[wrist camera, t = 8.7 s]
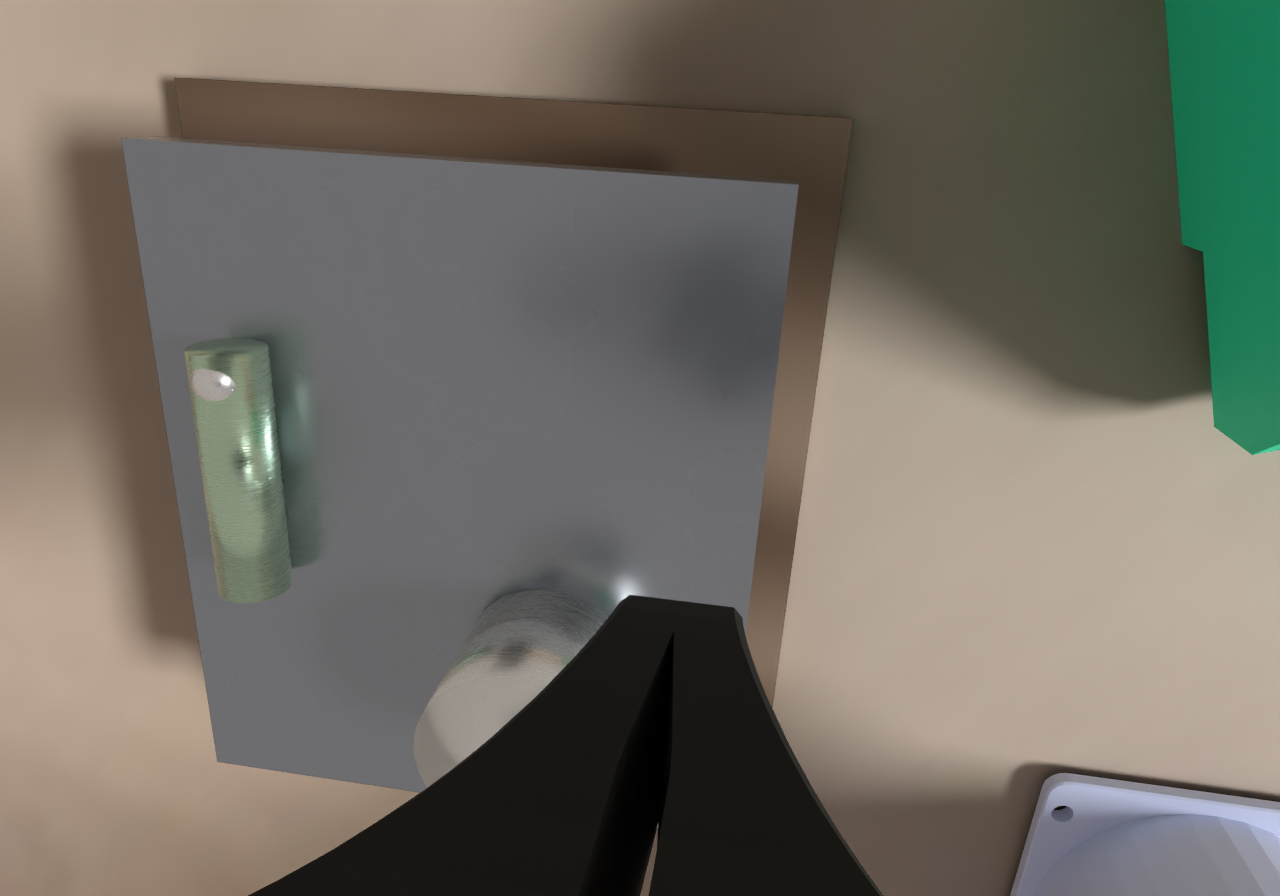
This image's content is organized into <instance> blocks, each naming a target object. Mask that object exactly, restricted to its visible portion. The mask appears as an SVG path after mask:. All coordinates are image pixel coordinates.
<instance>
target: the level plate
mask: <svg viewBox="0 0 1280 896" xmlns="http://www.w3.org/2000/svg"><path fill="white" fill-rule="evenodd" d="M121 140H122V146H123V153H124V159H125V166H126V172H127V179H128V185H129V191H130V198H131V204H132V211H133V217H134V224H135V230H136V237H137V243H138V250H139V256H140V263H141V269H142V276H143V282H144V289H145V295H146V302H147V308H148V315H149V321H150V328H151V334H152V341H153V347H154V354H155V360H156V367H157V373H158V380H159V386H160V393H161V399H162V406H163V412H164V419H165V425H166V432H167V438H168V445H169V451H170V458H171V464H172V471H173V477H174V484H175V490H176V497H177V503H178V510H179V516H180V522H181V529H182V535H183V542H184V548H185V555H186V561H187V568H188V574H189V581H190V587H191V594H192V600H193V607H194V613H195V620H196V626H197V633H198V639H199V646H200V652H201V659H202V665H203V672H204V678H205V685H206V691H207V698H208V704H209V711H210V717H211V724H212V730H213V737H214V743H215V750H216V756H217V762H222V763H229V764H235V765H242V766H248V767H255V768H262V769H268V770H275V771H281V772H288V773H295V774H301V775H308V776H315V777H321V778H328V779H334V780H341V781H348V782H354V783H361V784H367V785H374V786H381V787H387V788H394V789H401V790H407V791H414V792H420V793H421V792H422V791H423V790H425V789H426V788H428V787H429V786H430V785H432V784H433V783H434V782H436V781H437V780H438V779H440V778H441V777H442V776H444V775H445V774H446V773H448V772H449V771H450V770H452V769H453V768H454V767H455V766H457V765H458V764H459V763H461V762H462V761H463V760H464V759H466V758H467V757H468V756H469V755H471V754H472V753H473V752H474V751H475V750H477V749H478V748H479V747H480V746H481V745H483V744H484V743H485V742H486V741H487V740H489V739H490V738H491V737H492V736H493V735H494V734H495V733H497V732H498V731H499V730H500V729H501V728H502V727H503V726H504V725H505V724H506V723H508V722H509V721H510V720H511V719H512V718H513V717H514V716H515V715H516V714H517V713H519V712H520V711H521V710H522V709H523V708H524V707H525V706H526V705H527V704H528V703H530V702H531V701H532V700H533V699H534V698H535V697H536V696H537V695H538V694H539V693H540V692H541V691H542V690H543V689H544V688H545V687H546V686H547V685H548V684H549V683H550V682H551V681H552V680H553V679H554V678H555V677H556V676H557V675H558V674H559V673H560V671H561V670H562V669H563V668H564V667H565V666H566V665H567V664H568V663H569V662H570V661H571V660H572V659H573V658H574V657H575V656H576V655H577V654H578V653H579V651H580V650H581V649H582V648H583V647H584V646H585V645H586V643H587V642H588V641H589V640H590V639H591V638H592V637H593V635H594V634H595V633H596V632H597V631H598V630H599V628H600V627H601V626H602V625H603V623H604V622H605V621H606V620H607V618H608V617H609V616H610V615H611V613H612V612H613V611H614V609H615V608H616V607H617V605H618V604H619V603H620V602H621V601H622V600H623V599H625V598H626V597H628V596H629V595H637V596H645V597H653V598H661V599H670V600H678V601H686V602H694V603H702V604H711V605H719V606H727V607H734V608H735V609H736V610H737V612H738V613H739V614H740V615H741V616H742V618H743V627H744V631H745V636H746V629H747V620H748V612H749V603H750V595H751V586H752V578H753V569H754V561H755V552H756V544H757V535H758V527H759V518H760V510H761V501H762V493H763V484H764V476H765V467H766V459H767V450H768V442H769V433H770V425H771V416H772V408H773V399H774V391H775V382H776V374H777V365H778V357H779V348H780V340H781V331H782V323H783V314H784V306H785V297H786V289H787V280H788V272H789V263H790V255H791V246H792V238H793V229H794V220H795V212H796V203H797V195H798V186H799V184H798V181H797V180H788V179H773V178H758V177H744V176H729V175H715V174H700V173H685V172H671V171H656V170H641V169H627V168H612V167H597V166H583V165H568V164H553V163H539V162H524V161H509V160H495V159H480V158H466V157H451V156H436V155H422V154H407V153H392V152H378V151H363V150H348V149H334V148H319V147H304V146H290V145H275V144H260V143H246V142H231V141H217V140H202V139H187V138H173V137H158V136H157V137H135V138H121ZM657 828H658V825H657Z"/></svg>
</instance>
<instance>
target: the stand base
mask: <svg viewBox="0 0 1280 896" xmlns="http://www.w3.org/2000/svg"><path fill="white" fill-rule="evenodd" d="M174 79H175V87H176V94H177V101H178V108H179V116H180V123H181V130H182V138H187V139H202V140H217V141H231V142H246V143H260V144H275V145H290V146H304V147H319V148H334V149H348V150H363V151H378V152H392V153H407V154H422V155H436V156H451V157H466V158H480V159H495V160H509V161H524V162H539V163H553V164H568V165H583V166H597V167H612V168H627V169H641V170H656V171H671V172H685V173H700V174H715V175H729V176H744V177H758V178H773V179H788V180H797V181H798V184H799V186H798V195H797V203H796V212H795V220H794V229H793V238H792V246H791V255H790V263H789V272H788V280H787V289H786V297H785V306H784V314H783V323H782V331H781V340H780V348H779V357H778V365H777V374H776V382H775V391H774V399H773V408H772V416H771V425H770V433H769V442H768V450H767V459H766V467H765V476H764V484H763V493H762V501H761V510H760V518H759V527H758V535H757V544H756V552H755V561H754V569H753V578H752V586H751V595H750V603H749V612H748V620H747V629H746V639H747V643H748V647H749V650H750V653H751V656H752V659H753V662H754V665H755V667H756V670H757V673H758V676H759V678H760V681H761V683H762V686H763V688H764V691H765V693H766V696H767V698H768V700H769V702H770V705H771V707H773V700H774V692H775V685H776V678H777V670H778V663H779V656H780V649H781V641H782V634H783V627H784V619H785V612H786V605H787V598H788V590H789V583H790V576H791V568H792V561H793V554H794V546H795V539H796V532H797V525H798V517H799V510H800V503H801V495H802V488H803V481H804V473H805V466H806V459H807V452H808V444H809V437H810V430H811V422H812V415H813V408H814V400H815V393H816V386H817V379H818V371H819V364H820V357H821V349H822V342H823V335H824V327H825V320H826V313H827V306H828V298H829V291H830V284H831V276H832V269H833V262H834V254H835V247H836V240H837V233H838V225H839V218H840V211H841V203H842V196H843V189H844V182H845V174H846V167H847V160H848V152H849V145H850V138H851V130H852V123H853V119H852V118H840V117H823V116H807V115H790V114H773V113H757V112H740V111H723V110H707V109H690V108H674V107H657V106H640V105H624V104H607V103H591V102H574V101H557V100H541V99H524V98H508V97H491V96H474V95H458V94H441V93H424V92H408V91H391V90H375V89H358V88H341V87H325V86H308V85H292V84H275V83H258V82H242V81H225V80H209V79H192V78H174Z"/></svg>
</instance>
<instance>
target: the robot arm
mask: <svg viewBox="0 0 1280 896" xmlns="http://www.w3.org/2000/svg"><path fill="white" fill-rule="evenodd" d="M1058 806H1067V807H1066V808H1064V809H1062V810H1053V809H1054V808H1056V807H1058ZM657 825H658V841H657V853H656V859H655V864H654V870H653V875H652V881H651V886H650V892H649V896H883V895H882V893H881V892H880V890H879V889H878V888H877V886H876V885H875V884H874V882H873V881H872V879H871V878H870V877H869V875H868V874H867V872H866V871H865V870H864V868H863V867H862V866H861V864H860V863H859V861H858V860H857V858H856V857H855V855H854V854H853V852H852V851H851V849H850V848H849V846H848V845H847V843H846V842H845V840H844V839H843V837H842V836H841V834H840V833H839V831H838V830H837V828H836V826H835V825H834V823H833V822H832V820H831V818H830V817H829V815H828V813H827V812H826V810H825V809H824V807H823V805H822V803H821V802H820V800H819V798H818V797H817V795H816V793H815V792H814V790H813V788H812V786H811V784H810V783H809V781H808V779H807V777H806V775H805V773H804V772H803V770H802V768H801V766H800V764H799V763H798V761H797V759H796V757H795V755H794V753H793V751H792V749H791V747H790V745H789V743H788V741H787V739H786V737H785V735H784V733H783V731H782V729H781V727H780V724H779V722H778V720H777V718H776V716H775V713H774V711H773V709H772V707H771V705H770V702H769V700H768V698H767V696H766V693H765V691H764V688H763V686H762V683H761V681H760V678H759V676H758V673H757V670H756V667H755V665H754V662H753V659H752V656H751V653H750V650H749V647H748V643H747V639H746V636H745V631H744V627H743V618H742V616H741V615H740V614H739V613H738V612H737V610H736V609H735V608H734V607H727V606H719V605H711V604H702V603H694V602H686V601H678V600H670V599H661V598H653V597H645V596H637V595H629V596H628V597H626V598H625V599H623V600H622V601H621V602H620V603H619V604H618V605H617V607H616V608H615V609H614V611H613V612H612V613H611V615H610V616H609V617H608V618H607V620H606V621H605V622H604V623H603V625H602V626H601V627H600V628H599V630H598V631H597V632H596V633H595V634H594V635H593V637H592V638H591V639H590V640H589V641H588V642H587V643H586V645H585V646H584V647H583V648H582V649H581V650H580V651H579V653H578V654H577V655H576V656H575V657H574V658H573V659H572V660H571V661H570V662H569V663H568V664H567V665H566V666H565V667H564V668H563V669H562V670H561V671H560V673H559V674H558V675H557V676H556V677H555V678H554V679H553V680H552V681H551V682H550V683H549V684H548V685H547V686H546V687H545V688H544V689H543V690H542V691H541V692H540V693H539V694H538V695H537V696H536V697H535V698H534V699H533V700H532V701H531V702H530V703H528V704H527V705H526V706H525V707H524V708H523V709H522V710H521V711H520V712H519V713H517V714H516V715H515V716H514V717H513V718H512V719H511V720H510V721H509V722H508V723H506V724H505V725H504V726H503V727H502V728H501V729H500V730H499V731H498V732H497V733H495V734H494V735H493V736H492V737H491V738H490V739H489V740H487V741H486V742H485V743H484V744H483V745H481V746H480V747H479V748H478V749H477V750H475V751H474V752H473V753H472V754H471V755H469V756H468V757H467V758H466V759H464V760H463V761H462V762H461V763H459V764H458V765H457V766H455V767H454V768H453V769H452V770H450V771H449V772H448V773H446V774H445V775H444V776H442V777H441V778H440V779H438V780H437V781H436V782H434V783H433V784H432V785H430V786H429V787H428V788H426V789H425V790H423V791H422V792H421V793H419V794H418V795H416V796H415V797H414V798H412V799H411V800H409V801H408V802H406V803H405V804H403V805H402V806H400V807H399V808H397V809H396V810H394V811H393V812H391V813H390V814H388V815H387V816H385V817H384V818H382V819H381V820H379V821H378V822H376V823H375V824H373V825H372V826H370V827H368V828H367V829H365V830H364V831H362V832H360V833H359V834H357V835H356V836H354V837H353V838H351V839H349V840H348V841H346V842H345V843H343V844H341V845H340V846H338V847H337V848H335V849H333V850H332V851H330V852H328V853H326V854H325V855H323V856H321V857H319V858H318V859H316V860H314V861H312V862H310V863H308V864H307V865H305V866H303V867H301V868H299V869H298V870H296V871H294V872H292V873H290V874H289V875H287V876H285V877H283V878H281V879H280V880H278V881H276V882H274V883H272V884H270V885H268V886H266V887H264V888H262V889H260V890H258V891H256V892H254V893H252V894H250V895H248V896H640V893H641V889H642V885H643V881H644V877H645V873H646V869H647V865H648V861H649V857H650V853H651V849H652V845H653V841H654V837H655V833H656V829H657ZM1010 896H1280V802H1275V801H1268V800H1260V799H1253V798H1246V797H1239V796H1231V795H1224V794H1217V793H1209V792H1202V791H1195V790H1188V789H1180V788H1173V787H1166V786H1158V785H1151V784H1144V783H1136V782H1129V781H1122V780H1115V779H1107V778H1100V777H1093V776H1085V775H1078V774H1071V773H1058V774H1055V775H1052V776H1050V777H1049V778H1048V779H1046V780H1045V782H1044V784H1043V786H1042V789H1041V792H1040V796H1039V799H1038V802H1037V806H1036V809H1035V813H1034V816H1033V819H1032V823H1031V826H1030V830H1029V833H1028V836H1027V840H1026V843H1025V847H1024V850H1023V853H1022V857H1021V860H1020V864H1019V867H1018V870H1017V874H1016V877H1015V881H1014V884H1013V887H1012V891H1011V894H1010Z"/></svg>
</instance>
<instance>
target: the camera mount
mask: <svg viewBox="0 0 1280 896" xmlns="http://www.w3.org/2000/svg"><path fill="white" fill-rule="evenodd" d="M1165 11H1166V25H1167V39H1168V53H1169V67H1170V81H1171V95H1172V109H1173V123H1174V136H1175V150H1176V164H1177V178H1178V192H1179V206H1180V220H1181V234H1182V244H1183V245H1186V246H1189V247H1191V248H1194V249H1197V250H1200V251H1202V252H1203V259H1204V275H1205V291H1206V306H1207V322H1208V337H1209V353H1210V369H1211V384H1212V400H1213V415H1214V427H1216V428H1217V429H1218V430H1220V431H1221V432H1222V433H1224V434H1225V435H1226V436H1228V437H1229V438H1230V439H1232V440H1233V441H1234V442H1236V443H1237V444H1238V445H1240V446H1241V447H1242V448H1244V449H1245V450H1246V451H1248V452H1249V453H1250V454H1252V455H1254V454H1260V453H1265V452H1271V451H1276V450H1280V0H1165Z"/></svg>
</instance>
